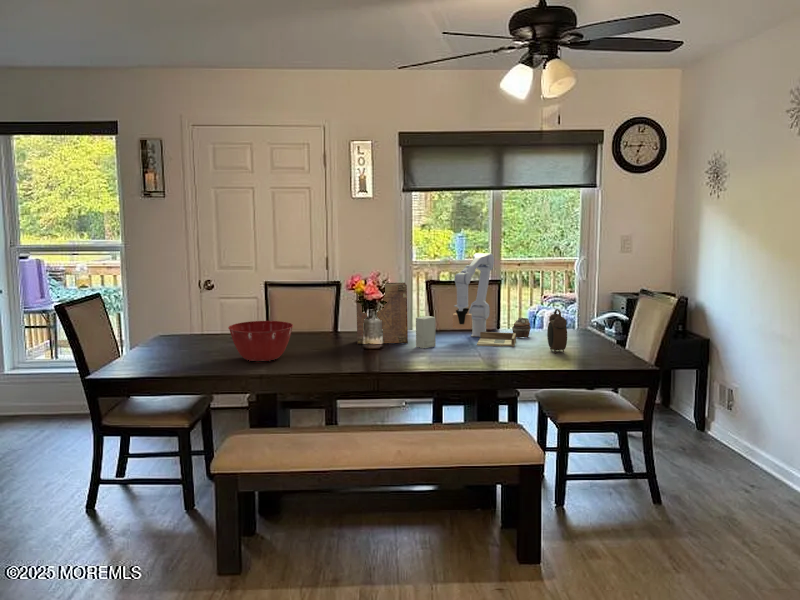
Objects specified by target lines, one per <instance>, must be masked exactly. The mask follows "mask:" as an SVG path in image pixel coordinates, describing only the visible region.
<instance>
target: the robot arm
mask: <svg viewBox="0 0 800 600" xmlns="http://www.w3.org/2000/svg"><path fill="white" fill-rule="evenodd" d="M494 262H495V256H494V255H493V253H491V252H487V253H486V252H482V253H481V252H475V253H474V254H473V255H472V261H471V262H470V264H466V265H465V266H464V268H463V269H462V270H461V271H460V272H458V273H456V274H455V276H454V283H455V288H456V304H454V305H453V307H455V308H457V309H455V313H457V315H458V319H459V323H460V324H464V322H465V316H466V314H472V328H471V329H472V332H471V333H472V334H471V335H470V337H479V338H480V332H487V320H488V318H489V317H490V314H491V313H490V310H491V309H490V304H489V303H488V302H487V301H486V299H487V294H488V290H489V289H488V287H489V282H490V276H491V275H490V274H491V271H492V270H493V268H494V264H495V263H494ZM476 269H477V270H478V271H480V273H479V281H478V286H477V292H476V293H477V294H476V298H475V300H474V301H473V302H471V303H470V305H469V285H470V283H471V280H472V278H473V275H475V273H476ZM469 306H470V307H469Z"/></svg>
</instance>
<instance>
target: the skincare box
mask: <svg viewBox="0 0 800 600" xmlns="http://www.w3.org/2000/svg"><path fill="white" fill-rule="evenodd" d="M436 341H437V340H436V317H435V316H430V315H425V316H420V317H419V316H418V317H415V346H416V347H417V348H419V347H420V348H419V349H423V348H425V349H427V348H429V349H430V348H433V347H436V344H437V343H436Z"/></svg>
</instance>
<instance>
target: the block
mask: <svg viewBox="0 0 800 600" xmlns="http://www.w3.org/2000/svg"><path fill="white" fill-rule="evenodd" d="M452 329H463V330H464V329H466V330H467V329H468V330H469V329H470V330H471V329H472V314H469V313H467V314H466V316H465V322H464V324H460V323H459V319H458V315H457V313H456V312H455V313H453V314H452Z"/></svg>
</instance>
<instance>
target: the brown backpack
mask: <svg viewBox="0 0 800 600" xmlns="http://www.w3.org/2000/svg"><path fill="white" fill-rule="evenodd" d="M548 317H549V318H548V325H547V344H548V346H549V349H550V350H551V351H554V354H557V353H556V352H557V351H562V353H563V354H565V349H566V347H567V344H568V329H567V320H566V318H565V317H563V316H562V312H561V310H560V309H559V308H556V309H554V312H553V313H552V314H550V315H549V316H548Z"/></svg>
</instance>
